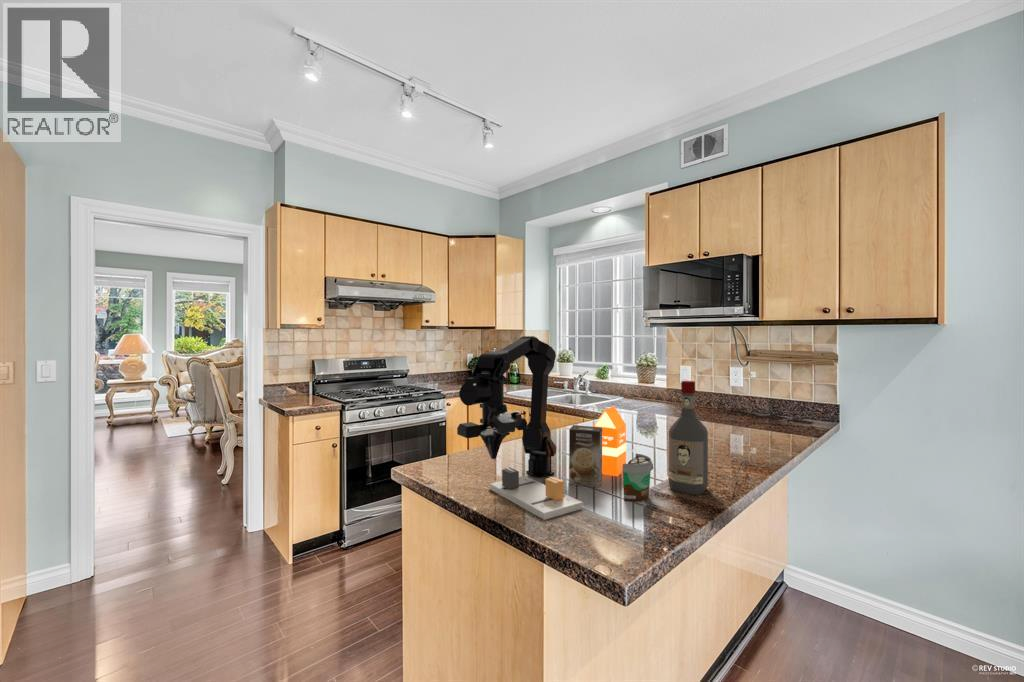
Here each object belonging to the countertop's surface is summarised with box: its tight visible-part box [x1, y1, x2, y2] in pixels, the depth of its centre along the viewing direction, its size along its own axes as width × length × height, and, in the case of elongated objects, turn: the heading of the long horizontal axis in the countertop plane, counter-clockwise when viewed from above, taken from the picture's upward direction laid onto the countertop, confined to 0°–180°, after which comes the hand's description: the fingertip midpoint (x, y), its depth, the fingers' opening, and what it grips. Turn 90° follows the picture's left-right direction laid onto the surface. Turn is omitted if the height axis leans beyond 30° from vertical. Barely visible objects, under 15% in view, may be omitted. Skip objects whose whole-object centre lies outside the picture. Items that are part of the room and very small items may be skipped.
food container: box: [622, 453, 654, 503], centre depth 119 cm, size 12×6×10 cm, turn 148°
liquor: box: [668, 380, 709, 496], centre depth 125 cm, size 9×9×30 cm
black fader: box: [501, 467, 520, 489], centre depth 122 cm, size 3×4×5 cm
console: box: [489, 475, 584, 521], centre depth 118 cm, size 12×25×2 cm, turn 33°
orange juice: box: [592, 406, 627, 477], centre depth 142 cm, size 8×9×20 cm
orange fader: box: [544, 476, 565, 501], centre depth 114 cm, size 3×4×5 cm
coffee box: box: [568, 424, 603, 488], centre depth 131 cm, size 9×6×16 cm
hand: (493, 458), depth 119 cm, fingers closed
